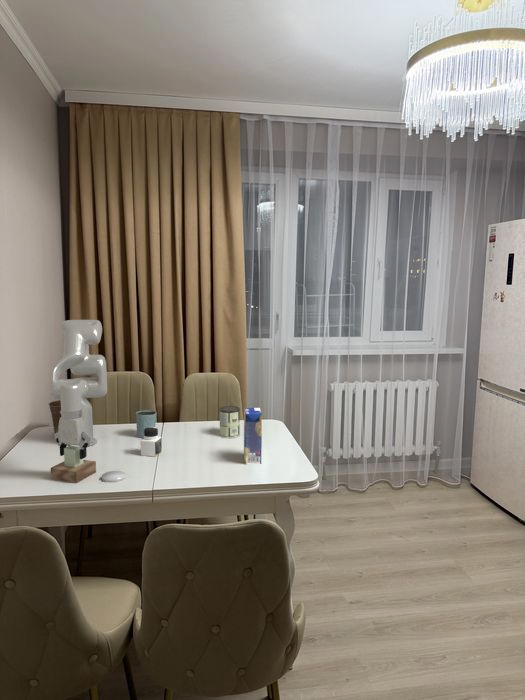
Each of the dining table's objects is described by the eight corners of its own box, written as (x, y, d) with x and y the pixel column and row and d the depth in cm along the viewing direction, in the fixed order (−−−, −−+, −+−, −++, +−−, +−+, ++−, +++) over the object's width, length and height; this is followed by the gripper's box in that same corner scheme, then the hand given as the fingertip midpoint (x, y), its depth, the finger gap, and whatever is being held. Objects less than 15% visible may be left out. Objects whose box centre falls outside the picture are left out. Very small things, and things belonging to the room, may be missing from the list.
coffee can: (227, 431, 267) (227, 404, 265) (243, 434, 262) (243, 407, 260) (215, 436, 258) (215, 408, 256) (232, 439, 253) (232, 411, 251)
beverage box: (258, 455, 231) (259, 407, 228) (261, 464, 220) (261, 414, 217) (243, 455, 230) (244, 407, 227) (245, 464, 219) (245, 414, 216)
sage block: (64, 465, 202) (63, 448, 202) (73, 461, 207) (72, 444, 206) (74, 467, 201) (74, 450, 200) (83, 463, 205) (82, 446, 204)
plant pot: (47, 431, 263) (46, 400, 261) (80, 427, 271) (79, 397, 269) (52, 440, 249) (51, 407, 247) (87, 435, 257) (86, 404, 255)
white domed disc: (97, 481, 200) (97, 477, 199) (110, 473, 208) (110, 469, 208) (117, 484, 197) (117, 480, 197) (129, 476, 206) (129, 472, 205)
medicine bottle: (155, 457, 227) (155, 430, 225) (140, 455, 228) (140, 429, 227) (161, 451, 234) (161, 426, 232) (147, 450, 235) (146, 425, 234)
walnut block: (51, 480, 201) (50, 467, 200) (71, 469, 212) (71, 457, 211) (76, 484, 197) (76, 471, 196) (96, 473, 208) (95, 461, 208)
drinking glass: (132, 435, 257) (131, 412, 255) (148, 431, 265) (148, 408, 263) (144, 440, 250) (143, 416, 249) (160, 435, 258) (160, 412, 256)
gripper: (47, 414, 201) (49, 456, 203) (83, 419, 195) (84, 462, 197) (60, 410, 208) (62, 450, 210) (96, 414, 202) (97, 456, 204)
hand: (73, 456), depth 203 cm, fingers open, 9 cm apart
